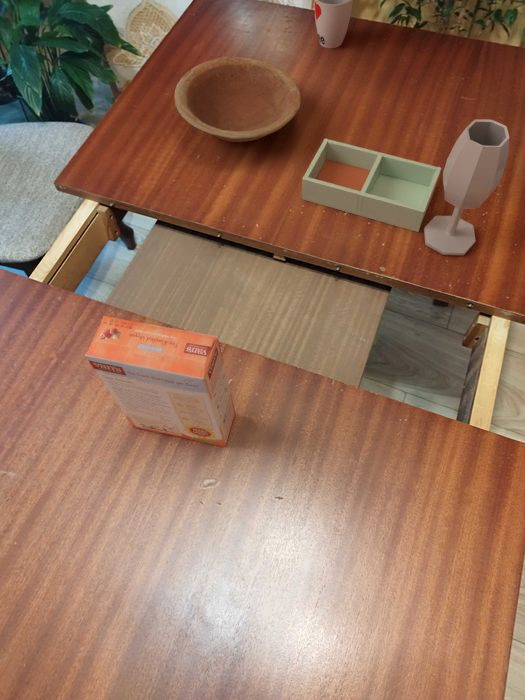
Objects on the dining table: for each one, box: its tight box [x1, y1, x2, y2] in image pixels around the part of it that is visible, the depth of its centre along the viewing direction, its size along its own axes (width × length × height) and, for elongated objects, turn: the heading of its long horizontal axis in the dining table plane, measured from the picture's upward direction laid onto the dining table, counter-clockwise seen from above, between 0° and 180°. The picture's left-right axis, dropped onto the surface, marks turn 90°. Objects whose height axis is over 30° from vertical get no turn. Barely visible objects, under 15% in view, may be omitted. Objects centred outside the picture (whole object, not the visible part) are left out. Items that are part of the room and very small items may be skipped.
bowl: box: [173, 55, 302, 143], centre depth 105 cm, size 24×24×8 cm
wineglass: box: [423, 119, 510, 256], centre depth 83 cm, size 9×9×21 cm
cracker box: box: [85, 315, 236, 448], centre depth 68 cm, size 14×6×21 cm, turn 76°
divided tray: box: [301, 138, 442, 233], centre depth 95 cm, size 21×11×5 cm, turn 66°
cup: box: [314, 0, 354, 49], centre depth 117 cm, size 8×8×10 cm
